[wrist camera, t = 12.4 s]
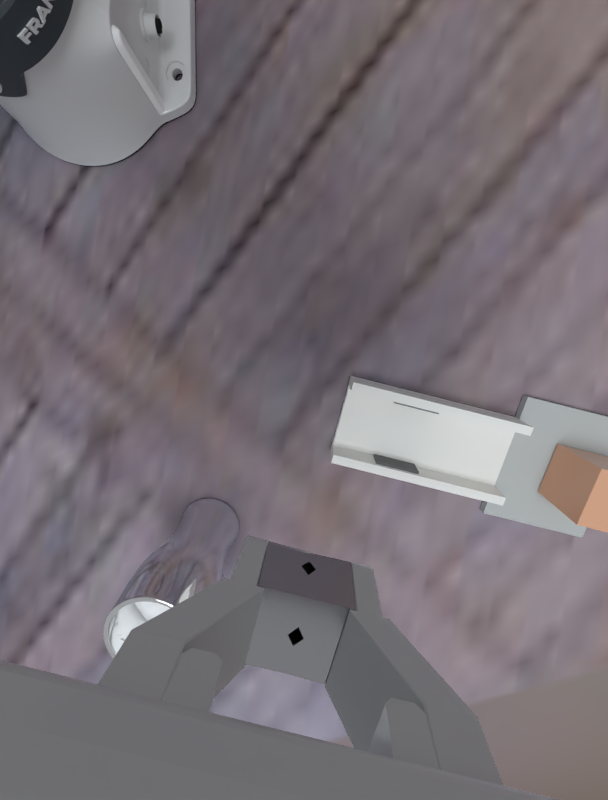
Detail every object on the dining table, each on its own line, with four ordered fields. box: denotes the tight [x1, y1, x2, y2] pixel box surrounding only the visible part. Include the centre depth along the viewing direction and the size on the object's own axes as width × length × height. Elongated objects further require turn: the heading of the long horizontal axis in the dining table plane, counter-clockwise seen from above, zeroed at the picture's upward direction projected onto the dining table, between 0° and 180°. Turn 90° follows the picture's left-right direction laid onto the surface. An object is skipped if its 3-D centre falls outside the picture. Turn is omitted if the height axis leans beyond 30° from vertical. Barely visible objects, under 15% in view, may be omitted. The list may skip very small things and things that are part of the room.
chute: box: [330, 376, 534, 506], centre depth 37 cm, size 8×16×4 cm, turn 76°
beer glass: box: [103, 498, 239, 659], centre depth 34 cm, size 7×7×15 cm
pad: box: [480, 395, 608, 538], centre depth 38 cm, size 12×10×1 cm
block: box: [538, 444, 608, 532], centre depth 34 cm, size 5×5×6 cm
